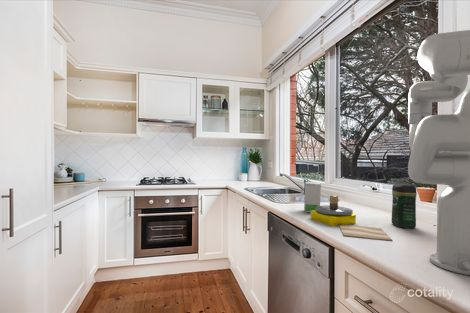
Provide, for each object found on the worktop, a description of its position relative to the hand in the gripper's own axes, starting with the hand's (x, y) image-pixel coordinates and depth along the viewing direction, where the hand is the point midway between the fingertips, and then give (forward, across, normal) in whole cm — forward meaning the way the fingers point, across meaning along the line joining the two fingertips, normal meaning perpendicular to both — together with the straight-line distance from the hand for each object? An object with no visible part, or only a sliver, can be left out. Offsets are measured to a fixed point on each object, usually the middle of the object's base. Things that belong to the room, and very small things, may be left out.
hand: (419, 163), depth 99 cm
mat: (+28, -4, +20) cm, 35 cm away
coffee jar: (+28, +12, +1) cm, 30 cm away
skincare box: (+28, +30, +38) cm, 56 cm away
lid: (+23, +12, +30) cm, 39 cm away
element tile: (+28, +12, +30) cm, 43 cm away
